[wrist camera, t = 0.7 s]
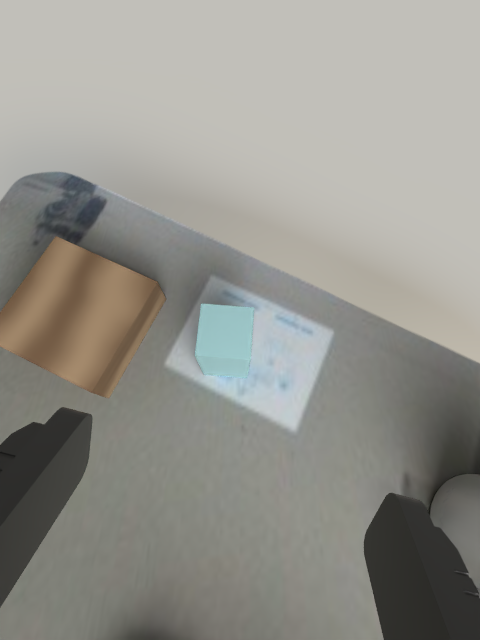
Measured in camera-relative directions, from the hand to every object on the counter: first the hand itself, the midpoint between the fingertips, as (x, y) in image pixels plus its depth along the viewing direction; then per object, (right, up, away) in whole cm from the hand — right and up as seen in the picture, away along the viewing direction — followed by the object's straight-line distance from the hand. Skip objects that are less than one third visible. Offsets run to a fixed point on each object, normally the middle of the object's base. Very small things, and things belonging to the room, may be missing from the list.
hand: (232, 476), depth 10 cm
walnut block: (-16, +4, +30) cm, 34 cm away
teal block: (-1, 0, +29) cm, 29 cm away
